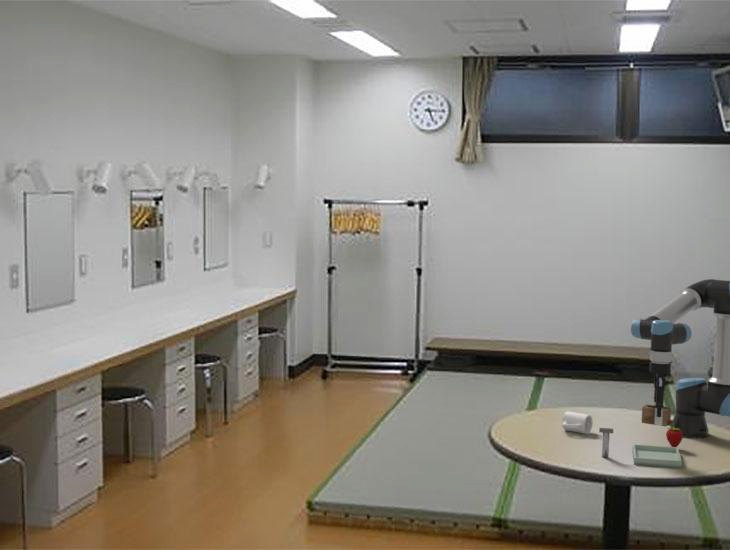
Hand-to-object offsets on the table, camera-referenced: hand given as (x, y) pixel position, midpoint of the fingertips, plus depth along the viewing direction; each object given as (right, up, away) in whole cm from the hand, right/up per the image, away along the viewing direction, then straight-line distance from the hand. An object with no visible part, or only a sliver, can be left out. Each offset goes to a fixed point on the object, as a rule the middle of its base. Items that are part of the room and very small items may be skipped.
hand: (657, 422), depth 351 cm
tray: (0, -14, +1) cm, 14 cm away
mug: (-22, -11, +39) cm, 46 cm away
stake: (-19, -13, +3) cm, 23 cm away
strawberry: (+11, -13, +16) cm, 23 cm away
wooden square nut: (-1, 0, 0) cm, 1 cm away
